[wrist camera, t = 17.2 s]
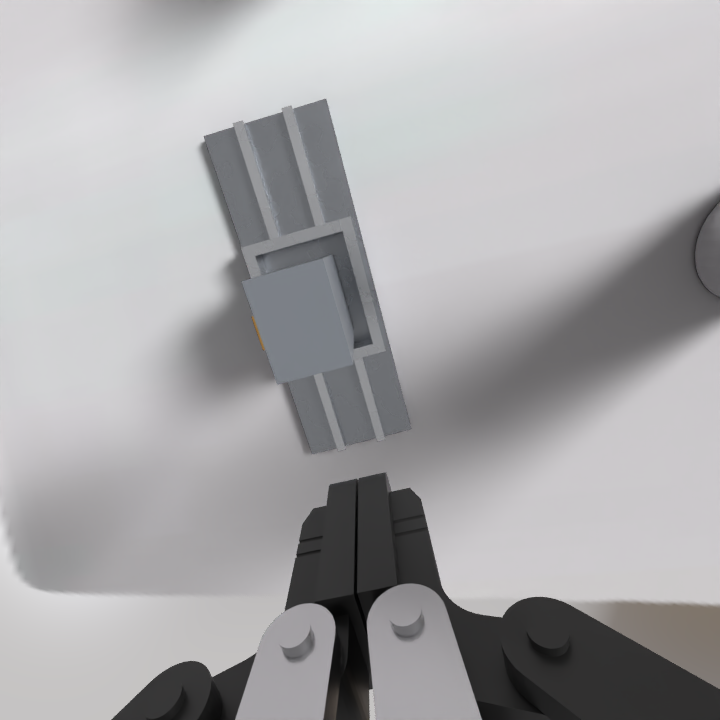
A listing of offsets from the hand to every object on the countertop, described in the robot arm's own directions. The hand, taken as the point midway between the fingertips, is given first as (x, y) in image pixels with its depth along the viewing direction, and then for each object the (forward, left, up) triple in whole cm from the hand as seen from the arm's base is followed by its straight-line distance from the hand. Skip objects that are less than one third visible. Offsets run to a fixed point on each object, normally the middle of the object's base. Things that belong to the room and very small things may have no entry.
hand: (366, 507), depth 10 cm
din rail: (-1, -4, -23) cm, 24 cm away
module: (-1, -4, -23) cm, 23 cm away
